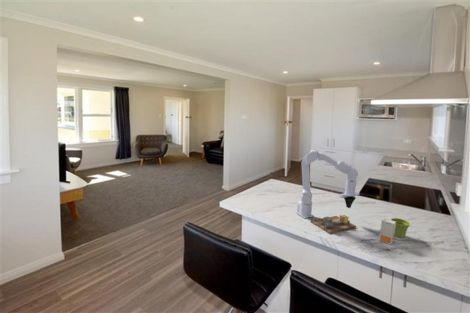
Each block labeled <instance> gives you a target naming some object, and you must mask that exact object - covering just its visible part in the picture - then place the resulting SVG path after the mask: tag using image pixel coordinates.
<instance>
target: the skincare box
mask: <svg viewBox="0 0 470 313" xmlns="http://www.w3.org/2000/svg"><path fill="white" fill-rule="evenodd" d="M395 227H396V222H395V221H392V220H391V219H388V218H383V219H382V220H381V222H380V231H379V236H378V238H379V239H378V241H379V242H382V243H386V244H388V245H392V243H393V242H394V238H395V236H394V233H395Z"/></svg>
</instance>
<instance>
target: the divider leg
mask: <svg viewBox="0 0 470 313" xmlns="http://www.w3.org/2000/svg"><path fill="white" fill-rule="evenodd" d="M338 217H340V220H339V221H342V222H343V225H346V224H348V220H349V216H348V215H345V214H342V215H341V214H340V215H339V216H338Z"/></svg>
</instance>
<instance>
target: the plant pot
mask: <svg viewBox="0 0 470 313" xmlns="http://www.w3.org/2000/svg"><path fill="white" fill-rule="evenodd" d="M390 220H392V221H395V222H396V227H395V233H394V238H398V239H404V238H405V237H406V233H407V231H408V229H409V226H411V223H410V221H408V220H406V219H404V218H403V219H402V218H397V217H393V218H392V217H391V218H390Z"/></svg>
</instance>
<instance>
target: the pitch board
mask: <svg viewBox="0 0 470 313" xmlns="http://www.w3.org/2000/svg"><path fill="white" fill-rule="evenodd" d="M339 220H340V217H339V216H337V215H335V216H324V217H323V218H316V219H312V220H310V223H311V224H313V225H314V226H316V227H317V226H318V228H320V229H321V230H323V231H324V232H325V233H328V234H334V232H335V233H338V232H343V231H348V230H353V229H356V228H357V225H355V224H353V223H351V222H350V220H349V219H348V224H346V225H343V222H342V221H339Z"/></svg>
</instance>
